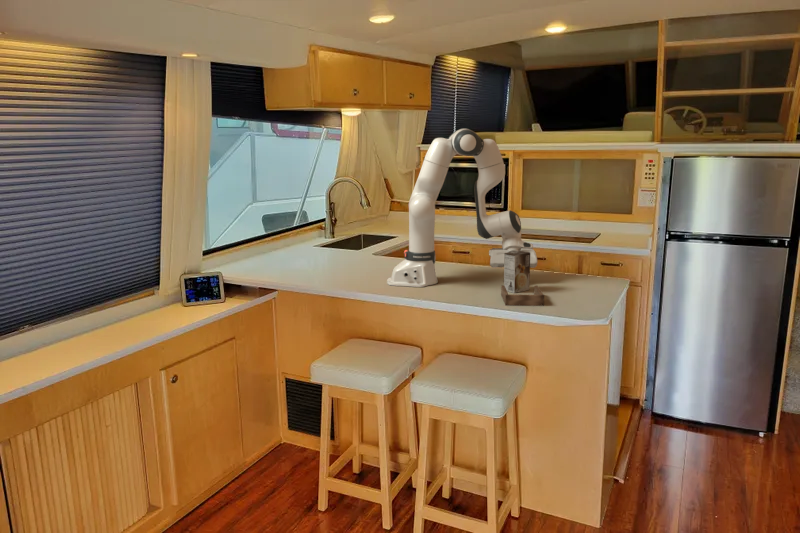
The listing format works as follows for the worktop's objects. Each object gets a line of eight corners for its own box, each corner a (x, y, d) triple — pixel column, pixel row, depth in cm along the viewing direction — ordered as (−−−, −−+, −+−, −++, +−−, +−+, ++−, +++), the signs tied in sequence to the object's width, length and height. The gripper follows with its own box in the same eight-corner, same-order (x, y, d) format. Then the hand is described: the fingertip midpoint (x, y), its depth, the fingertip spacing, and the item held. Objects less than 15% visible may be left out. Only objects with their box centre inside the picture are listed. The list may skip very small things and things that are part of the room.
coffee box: (518, 286, 250) (519, 250, 247) (529, 289, 245) (531, 252, 242) (503, 290, 245) (504, 252, 242) (514, 293, 240) (515, 255, 237)
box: (505, 305, 223) (505, 295, 222) (501, 294, 238) (501, 285, 237) (543, 305, 222) (544, 295, 221) (536, 295, 237) (537, 285, 236)
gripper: (489, 244, 257) (490, 270, 249) (536, 244, 255) (539, 271, 248) (488, 252, 262) (489, 278, 254) (534, 252, 261) (537, 278, 253)
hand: (514, 274), depth 251 cm, fingers closed
